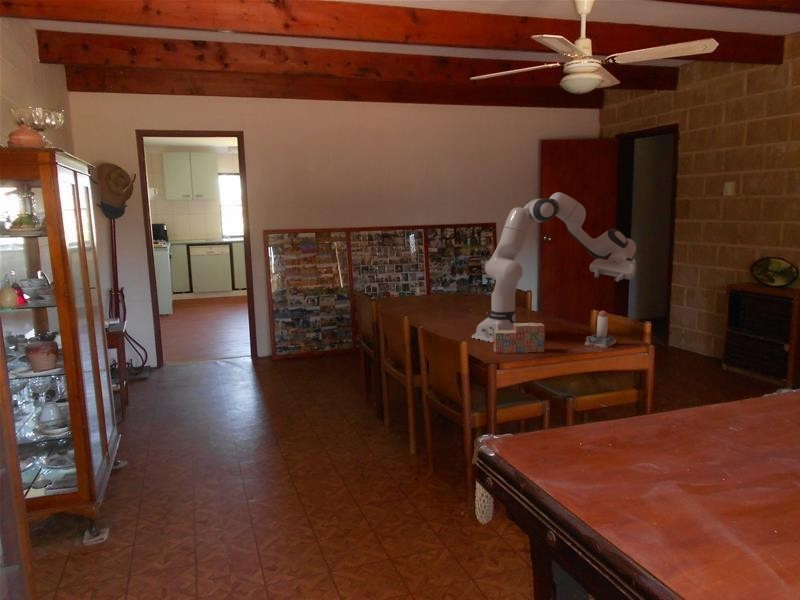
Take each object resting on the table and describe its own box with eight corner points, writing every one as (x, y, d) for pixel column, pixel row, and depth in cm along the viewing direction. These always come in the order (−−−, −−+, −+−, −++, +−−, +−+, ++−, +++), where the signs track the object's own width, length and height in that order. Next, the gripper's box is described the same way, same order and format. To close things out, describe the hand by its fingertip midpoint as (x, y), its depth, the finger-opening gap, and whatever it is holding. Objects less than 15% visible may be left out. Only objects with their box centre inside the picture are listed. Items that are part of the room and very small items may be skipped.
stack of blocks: (495, 354, 259) (495, 326, 257) (493, 350, 266) (493, 323, 264) (544, 352, 259) (544, 325, 257) (541, 349, 265) (541, 322, 263)
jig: (584, 344, 271) (585, 337, 270) (594, 339, 280) (594, 332, 279) (607, 347, 264) (607, 339, 264) (615, 342, 274) (616, 334, 273)
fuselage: (594, 342, 270) (596, 310, 267) (598, 340, 273) (600, 309, 271) (604, 343, 267) (606, 312, 265) (608, 341, 271) (609, 310, 268)
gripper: (595, 252, 286) (584, 268, 278) (639, 260, 274) (628, 277, 266) (595, 263, 290) (584, 279, 282) (638, 272, 278) (627, 288, 270)
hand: (605, 278), depth 274 cm, fingers open, 8 cm apart
